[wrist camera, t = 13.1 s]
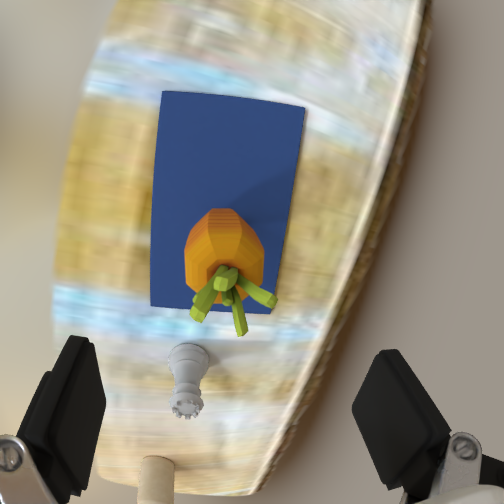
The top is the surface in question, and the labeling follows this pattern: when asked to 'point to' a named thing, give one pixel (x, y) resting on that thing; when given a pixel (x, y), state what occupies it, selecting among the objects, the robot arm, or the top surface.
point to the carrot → (225, 266)
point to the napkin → (220, 182)
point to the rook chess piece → (187, 379)
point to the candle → (156, 481)
